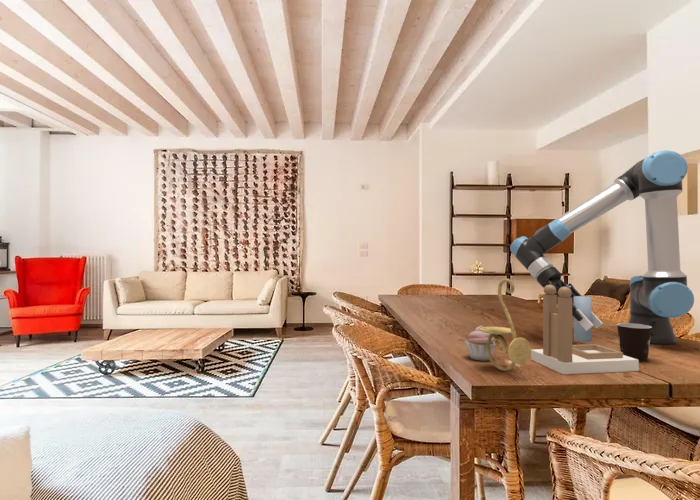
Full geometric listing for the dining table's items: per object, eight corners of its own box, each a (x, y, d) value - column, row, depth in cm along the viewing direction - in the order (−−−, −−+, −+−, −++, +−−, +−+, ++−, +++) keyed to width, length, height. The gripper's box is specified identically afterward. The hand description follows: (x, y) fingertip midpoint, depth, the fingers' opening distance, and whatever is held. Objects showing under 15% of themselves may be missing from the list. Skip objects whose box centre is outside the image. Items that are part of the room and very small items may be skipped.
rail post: (584, 338, 138) (583, 295, 138) (595, 341, 133) (594, 297, 134) (570, 339, 138) (570, 296, 138) (581, 342, 133) (580, 298, 133)
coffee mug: (641, 364, 119) (641, 329, 119) (610, 357, 127) (610, 324, 127) (663, 359, 125) (663, 325, 125) (632, 353, 132) (632, 321, 132)
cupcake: (475, 363, 121) (475, 328, 121) (458, 355, 130) (458, 323, 130) (504, 361, 123) (504, 327, 123) (485, 353, 132) (485, 321, 132)
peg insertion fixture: (598, 356, 128) (598, 281, 128) (638, 371, 113) (638, 286, 113) (530, 359, 125) (530, 282, 125) (563, 374, 110) (563, 287, 110)
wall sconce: (535, 376, 108) (535, 279, 108) (504, 379, 105) (504, 280, 105) (500, 362, 122) (500, 276, 122) (472, 365, 119) (472, 276, 119)
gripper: (552, 279, 153) (600, 331, 140) (522, 281, 144) (570, 337, 130) (566, 264, 149) (617, 316, 135) (536, 266, 139) (588, 322, 125)
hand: (594, 327), depth 132 cm, fingers closed on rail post, 5 cm apart
